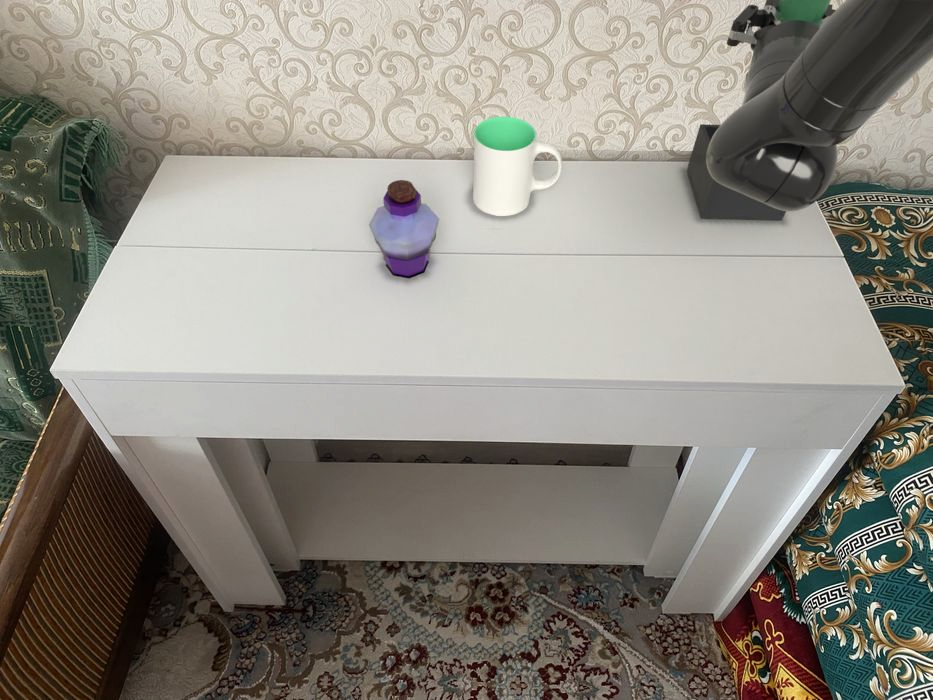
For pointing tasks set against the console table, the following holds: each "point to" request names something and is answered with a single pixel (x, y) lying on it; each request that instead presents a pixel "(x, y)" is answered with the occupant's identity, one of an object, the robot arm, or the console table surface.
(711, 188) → the bin
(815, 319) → the console table surface
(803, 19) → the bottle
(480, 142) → the mug
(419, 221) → the potion bottle
